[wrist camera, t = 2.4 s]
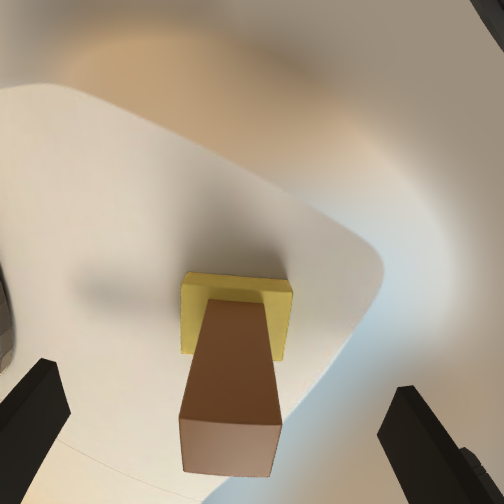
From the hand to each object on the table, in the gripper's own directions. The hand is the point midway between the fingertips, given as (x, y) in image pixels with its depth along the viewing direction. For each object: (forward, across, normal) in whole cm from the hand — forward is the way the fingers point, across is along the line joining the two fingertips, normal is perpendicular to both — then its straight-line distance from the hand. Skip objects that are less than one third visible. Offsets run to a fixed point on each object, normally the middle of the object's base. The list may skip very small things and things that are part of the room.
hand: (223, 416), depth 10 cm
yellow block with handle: (+9, 0, 0) cm, 9 cm away
